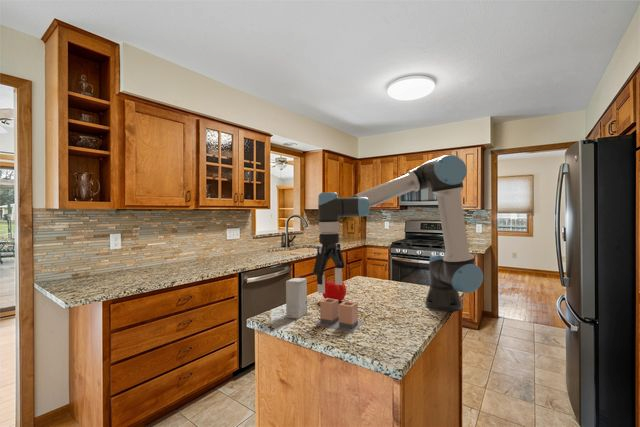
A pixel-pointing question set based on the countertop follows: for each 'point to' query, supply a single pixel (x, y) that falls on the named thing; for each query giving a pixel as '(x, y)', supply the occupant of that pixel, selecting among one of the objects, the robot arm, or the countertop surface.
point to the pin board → (336, 326)
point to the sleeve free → (329, 311)
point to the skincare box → (296, 297)
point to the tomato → (334, 290)
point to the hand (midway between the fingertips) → (330, 288)
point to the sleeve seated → (348, 314)
